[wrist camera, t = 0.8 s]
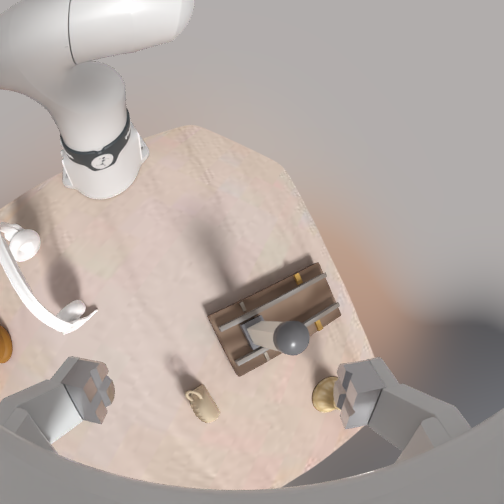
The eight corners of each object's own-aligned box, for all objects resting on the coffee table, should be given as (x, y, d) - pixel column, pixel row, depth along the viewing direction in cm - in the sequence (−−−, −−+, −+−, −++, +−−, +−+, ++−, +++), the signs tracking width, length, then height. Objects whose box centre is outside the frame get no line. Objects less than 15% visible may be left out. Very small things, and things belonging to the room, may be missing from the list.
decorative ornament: (201, 422, 42) (206, 434, 37) (179, 385, 42) (182, 394, 37) (220, 413, 43) (227, 424, 38) (200, 376, 44) (204, 384, 39)
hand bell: (305, 393, 49) (354, 413, 34) (335, 369, 52) (387, 380, 37) (321, 419, 49) (370, 442, 34) (348, 395, 52) (400, 410, 37)
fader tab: (238, 325, 46) (271, 329, 32) (260, 314, 47) (300, 313, 34) (250, 349, 45) (287, 362, 32) (271, 338, 47) (314, 345, 33)
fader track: (207, 315, 47) (210, 316, 43) (313, 264, 56) (322, 260, 52) (236, 374, 46) (242, 378, 43) (335, 315, 55) (345, 314, 52)
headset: (19, 253, 37) (-31, 225, 20) (43, 229, 40) (0, 191, 23) (75, 338, 38) (32, 350, 22) (101, 313, 41) (67, 312, 24)
